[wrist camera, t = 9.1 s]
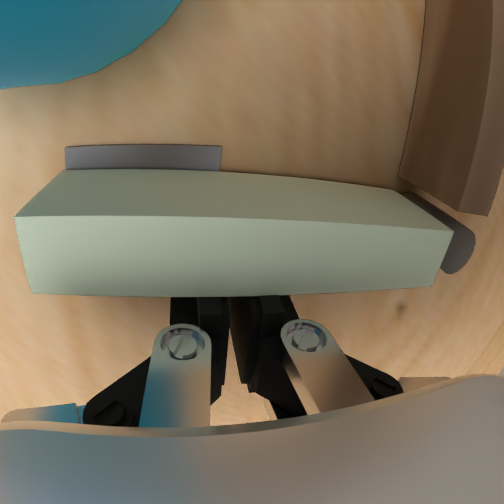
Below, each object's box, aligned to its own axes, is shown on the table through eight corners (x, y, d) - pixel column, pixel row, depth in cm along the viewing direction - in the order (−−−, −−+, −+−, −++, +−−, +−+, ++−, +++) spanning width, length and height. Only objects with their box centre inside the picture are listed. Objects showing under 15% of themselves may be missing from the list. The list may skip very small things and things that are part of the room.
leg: (392, 189, 11) (454, 231, 8) (378, 236, 12) (431, 286, 9) (63, 170, 8) (14, 216, 5) (68, 229, 9) (31, 293, 6)
